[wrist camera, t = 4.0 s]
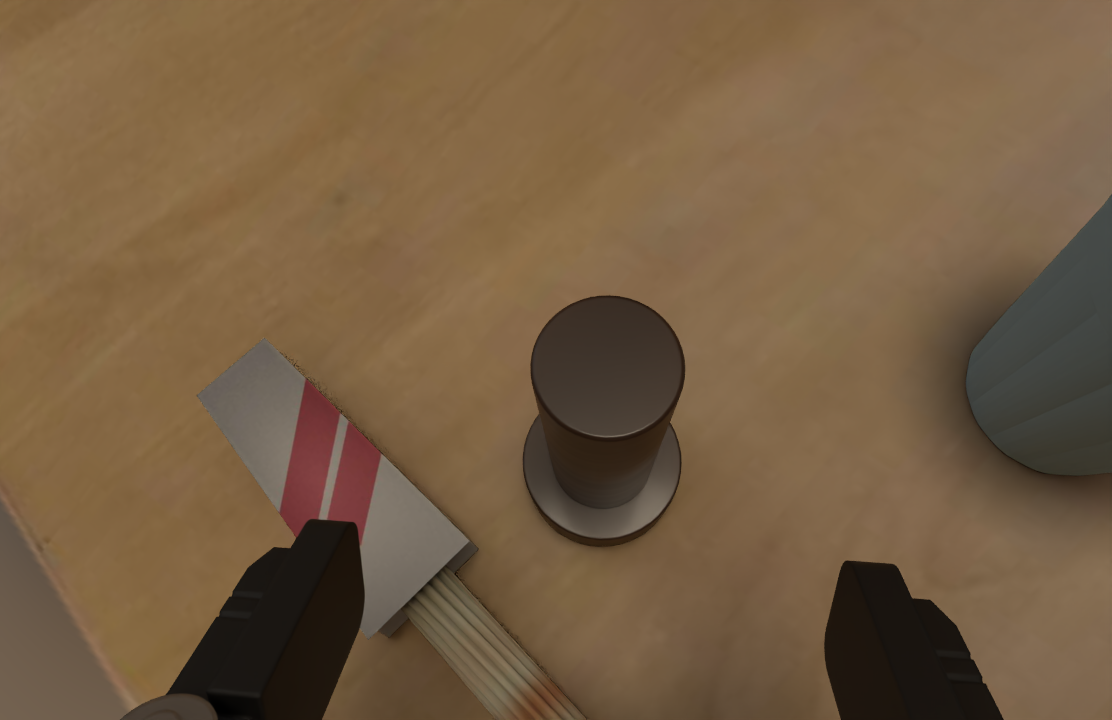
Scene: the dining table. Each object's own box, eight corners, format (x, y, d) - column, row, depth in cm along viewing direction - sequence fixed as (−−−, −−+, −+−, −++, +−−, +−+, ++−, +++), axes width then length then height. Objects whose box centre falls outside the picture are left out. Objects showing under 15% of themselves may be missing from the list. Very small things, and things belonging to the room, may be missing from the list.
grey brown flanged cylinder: (701, 448, 26) (777, 327, 15) (626, 576, 24) (652, 539, 14) (578, 374, 27) (569, 213, 16) (499, 494, 25) (435, 403, 15)
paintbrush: (261, 310, 24) (736, 837, 20) (291, 338, 27) (716, 809, 23) (159, 393, 24) (630, 959, 19) (200, 413, 26) (622, 916, 22)
